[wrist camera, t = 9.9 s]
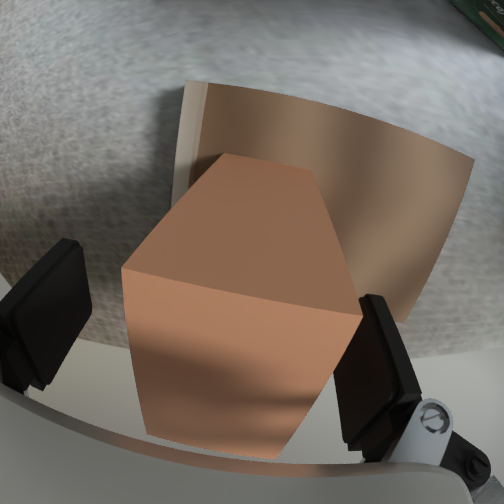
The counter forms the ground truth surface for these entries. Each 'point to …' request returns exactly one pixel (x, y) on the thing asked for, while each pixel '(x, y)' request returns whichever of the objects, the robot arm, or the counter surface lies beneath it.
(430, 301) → the counter surface
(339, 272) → the salmon upright cuboid
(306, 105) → the shelf board
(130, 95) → the counter surface
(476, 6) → the coffee jar
